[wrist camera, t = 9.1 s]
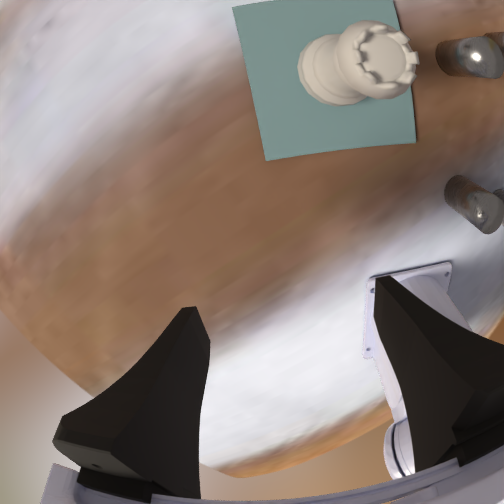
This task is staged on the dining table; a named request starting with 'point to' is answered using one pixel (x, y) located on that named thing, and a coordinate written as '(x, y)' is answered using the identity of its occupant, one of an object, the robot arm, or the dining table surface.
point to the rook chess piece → (358, 64)
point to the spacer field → (486, 66)
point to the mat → (293, 92)
